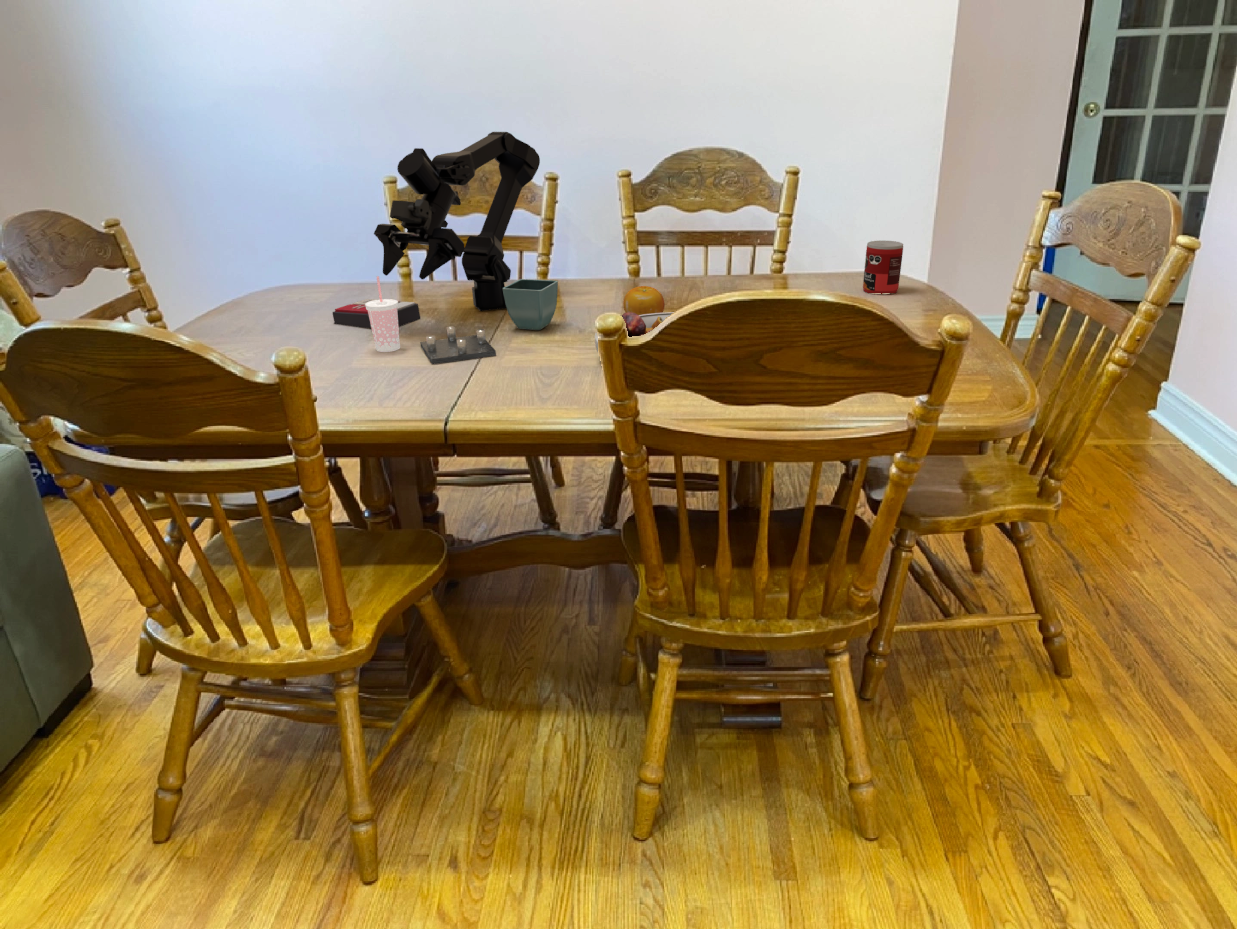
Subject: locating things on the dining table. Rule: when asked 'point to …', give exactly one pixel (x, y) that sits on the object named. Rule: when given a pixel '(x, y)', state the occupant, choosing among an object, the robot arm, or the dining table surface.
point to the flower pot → (531, 302)
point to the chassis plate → (457, 347)
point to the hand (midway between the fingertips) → (402, 276)
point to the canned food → (882, 266)
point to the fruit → (643, 301)
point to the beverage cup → (384, 322)
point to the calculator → (360, 317)
